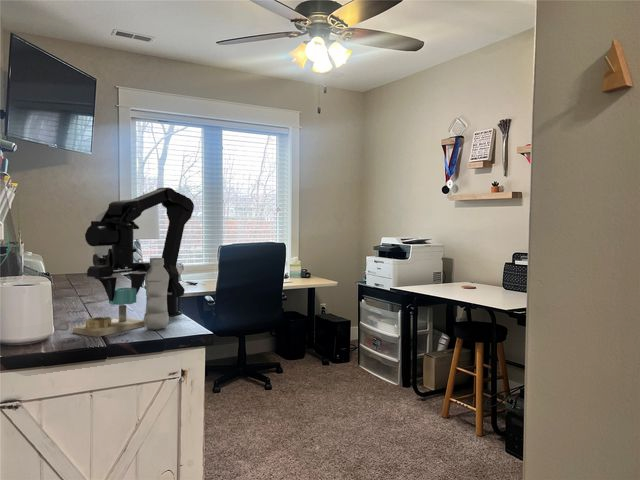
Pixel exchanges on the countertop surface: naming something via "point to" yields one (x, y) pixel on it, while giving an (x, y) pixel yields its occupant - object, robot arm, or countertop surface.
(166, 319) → the plastic bottle
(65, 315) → the countertop surface
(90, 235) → the robot arm
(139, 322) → the gear board
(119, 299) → the teal gear
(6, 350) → the countertop surface
